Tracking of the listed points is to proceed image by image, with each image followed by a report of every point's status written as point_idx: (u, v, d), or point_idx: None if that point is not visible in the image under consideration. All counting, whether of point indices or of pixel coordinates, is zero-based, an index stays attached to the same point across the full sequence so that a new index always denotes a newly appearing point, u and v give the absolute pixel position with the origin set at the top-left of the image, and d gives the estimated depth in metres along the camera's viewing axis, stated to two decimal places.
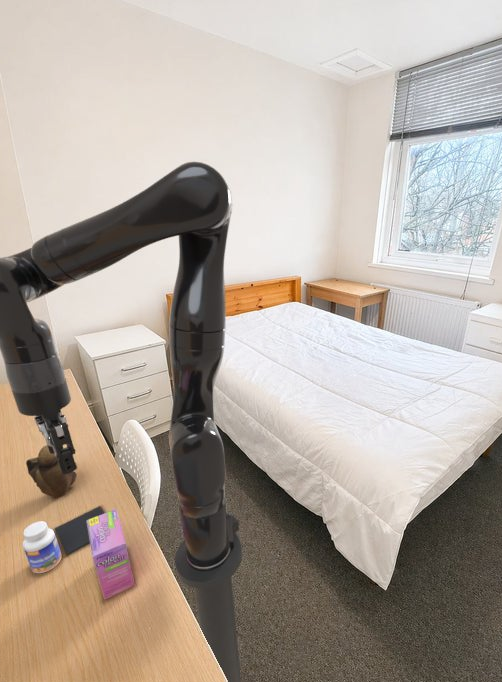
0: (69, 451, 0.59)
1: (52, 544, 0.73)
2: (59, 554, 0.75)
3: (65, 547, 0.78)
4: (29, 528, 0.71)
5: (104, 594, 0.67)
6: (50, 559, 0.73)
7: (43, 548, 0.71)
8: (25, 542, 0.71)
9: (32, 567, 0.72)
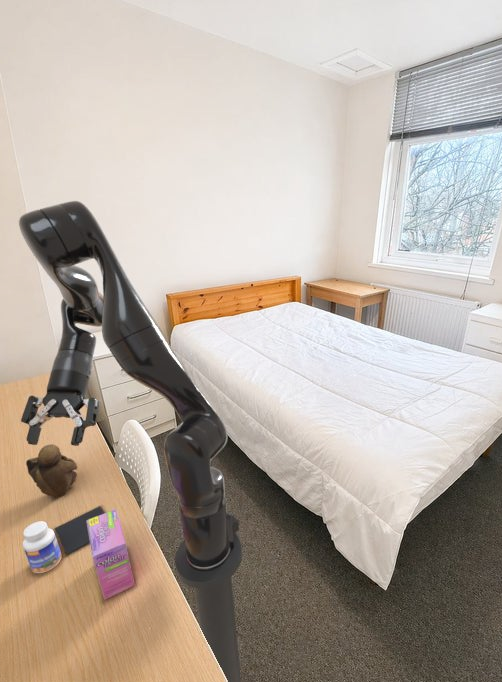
0: None
1: (52, 544, 0.73)
2: (59, 554, 0.75)
3: (65, 547, 0.78)
4: (29, 528, 0.71)
5: (104, 594, 0.67)
6: (50, 559, 0.73)
7: (43, 548, 0.71)
8: (25, 542, 0.71)
9: (32, 567, 0.72)
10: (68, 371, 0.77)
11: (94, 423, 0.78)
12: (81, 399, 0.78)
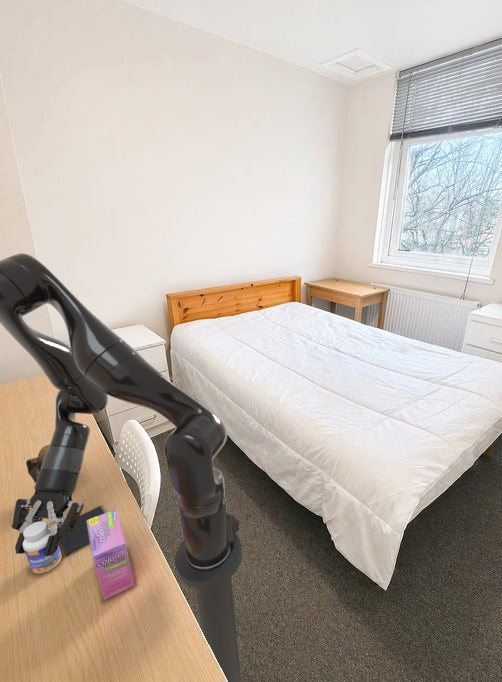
0: None
1: None
2: (59, 554, 0.75)
3: (65, 547, 0.78)
4: (29, 528, 0.71)
5: (104, 594, 0.67)
6: (50, 559, 0.73)
7: (43, 548, 0.71)
8: (25, 542, 0.71)
9: (32, 567, 0.72)
10: (54, 470, 0.75)
11: (70, 530, 0.74)
12: (66, 501, 0.75)
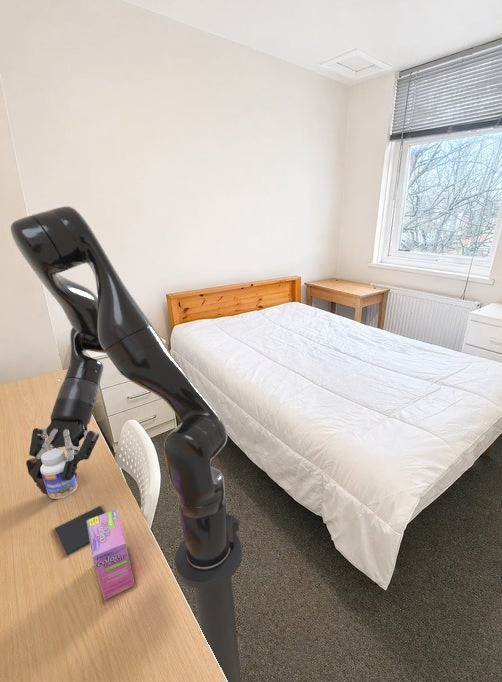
0: None
1: None
2: (75, 482, 0.77)
3: (65, 547, 0.78)
4: (46, 453, 0.73)
5: (104, 594, 0.67)
6: (67, 485, 0.74)
7: (60, 473, 0.72)
8: (43, 467, 0.72)
9: (49, 492, 0.74)
10: (70, 399, 0.76)
11: (86, 457, 0.75)
12: (82, 430, 0.76)
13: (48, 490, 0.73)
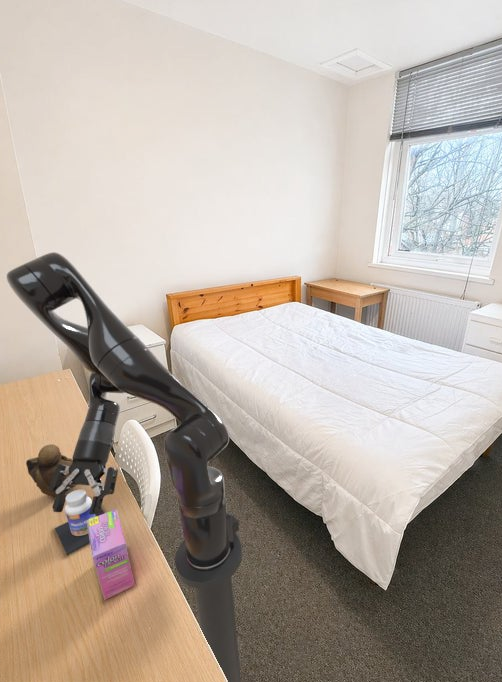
0: None
1: None
2: None
3: (65, 547, 0.78)
4: (70, 495, 0.80)
5: (104, 594, 0.67)
6: None
7: (83, 513, 0.79)
8: (67, 507, 0.79)
9: (72, 530, 0.80)
10: (90, 441, 0.82)
11: (112, 492, 0.82)
12: (101, 468, 0.82)
13: (71, 528, 0.80)
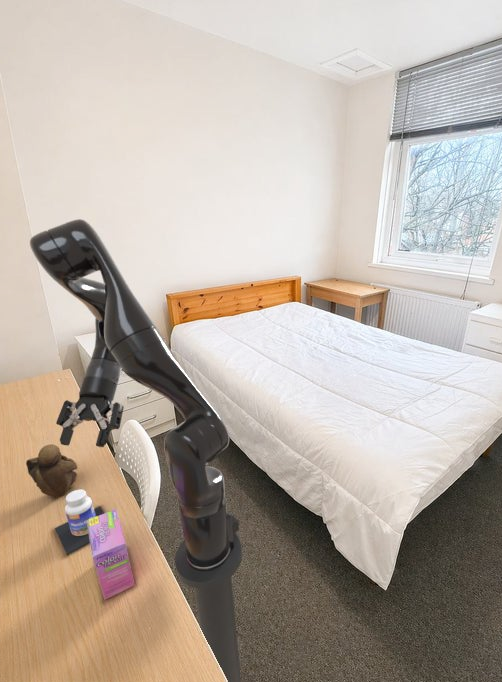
0: None
1: (90, 509, 0.81)
2: None
3: (65, 547, 0.78)
4: (70, 495, 0.80)
5: (104, 594, 0.67)
6: None
7: (83, 513, 0.79)
8: (67, 507, 0.79)
9: (72, 530, 0.80)
10: (96, 377, 0.84)
11: (118, 426, 0.83)
12: (107, 404, 0.84)
13: (71, 528, 0.80)
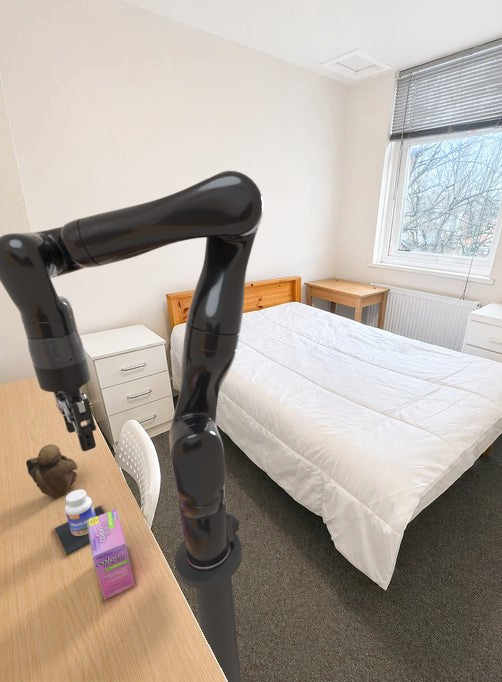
0: (90, 427, 0.59)
1: (90, 509, 0.81)
2: None
3: (65, 547, 0.78)
4: (70, 495, 0.80)
5: (104, 594, 0.67)
6: None
7: (83, 513, 0.79)
8: (67, 507, 0.79)
9: (72, 530, 0.80)
10: None
11: None
12: None
13: (71, 528, 0.80)
